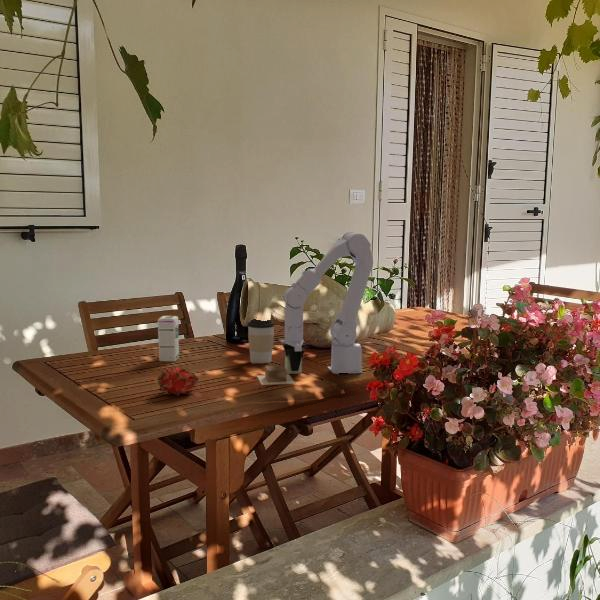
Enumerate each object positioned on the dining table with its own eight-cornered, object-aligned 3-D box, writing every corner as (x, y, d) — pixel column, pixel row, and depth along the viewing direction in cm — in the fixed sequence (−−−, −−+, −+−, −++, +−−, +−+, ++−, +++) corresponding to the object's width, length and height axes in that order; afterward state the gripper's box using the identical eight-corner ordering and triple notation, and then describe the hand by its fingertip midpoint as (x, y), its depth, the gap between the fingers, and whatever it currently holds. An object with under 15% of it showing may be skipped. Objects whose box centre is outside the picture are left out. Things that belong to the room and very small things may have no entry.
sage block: (298, 370, 208) (298, 355, 207) (301, 374, 203) (301, 359, 202) (284, 371, 207) (285, 356, 206) (287, 375, 202) (287, 359, 201)
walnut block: (283, 376, 199) (283, 365, 198) (286, 381, 194) (286, 370, 193) (265, 377, 198) (265, 366, 197) (268, 382, 192) (268, 370, 192)
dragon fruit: (153, 401, 180) (194, 401, 185) (163, 390, 173) (205, 391, 179) (151, 372, 183) (191, 374, 189) (160, 360, 177) (202, 362, 183)
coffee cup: (257, 357, 224) (257, 314, 221) (279, 361, 219) (280, 317, 217) (241, 362, 216) (242, 318, 214) (264, 366, 212) (264, 321, 209)
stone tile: (288, 375, 202) (288, 374, 202) (295, 384, 192) (295, 383, 192) (256, 377, 200) (256, 375, 199) (261, 386, 190) (261, 384, 190)
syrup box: (176, 361, 216) (175, 318, 214) (158, 361, 216) (157, 318, 214) (179, 357, 222) (179, 315, 220) (162, 357, 222) (161, 315, 220)
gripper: (277, 322, 209) (276, 363, 211) (285, 331, 195) (285, 375, 197) (298, 321, 210) (298, 362, 212) (308, 330, 196) (307, 374, 198)
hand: (293, 368), depth 205 cm, fingers closed on sage block, 4 cm apart
